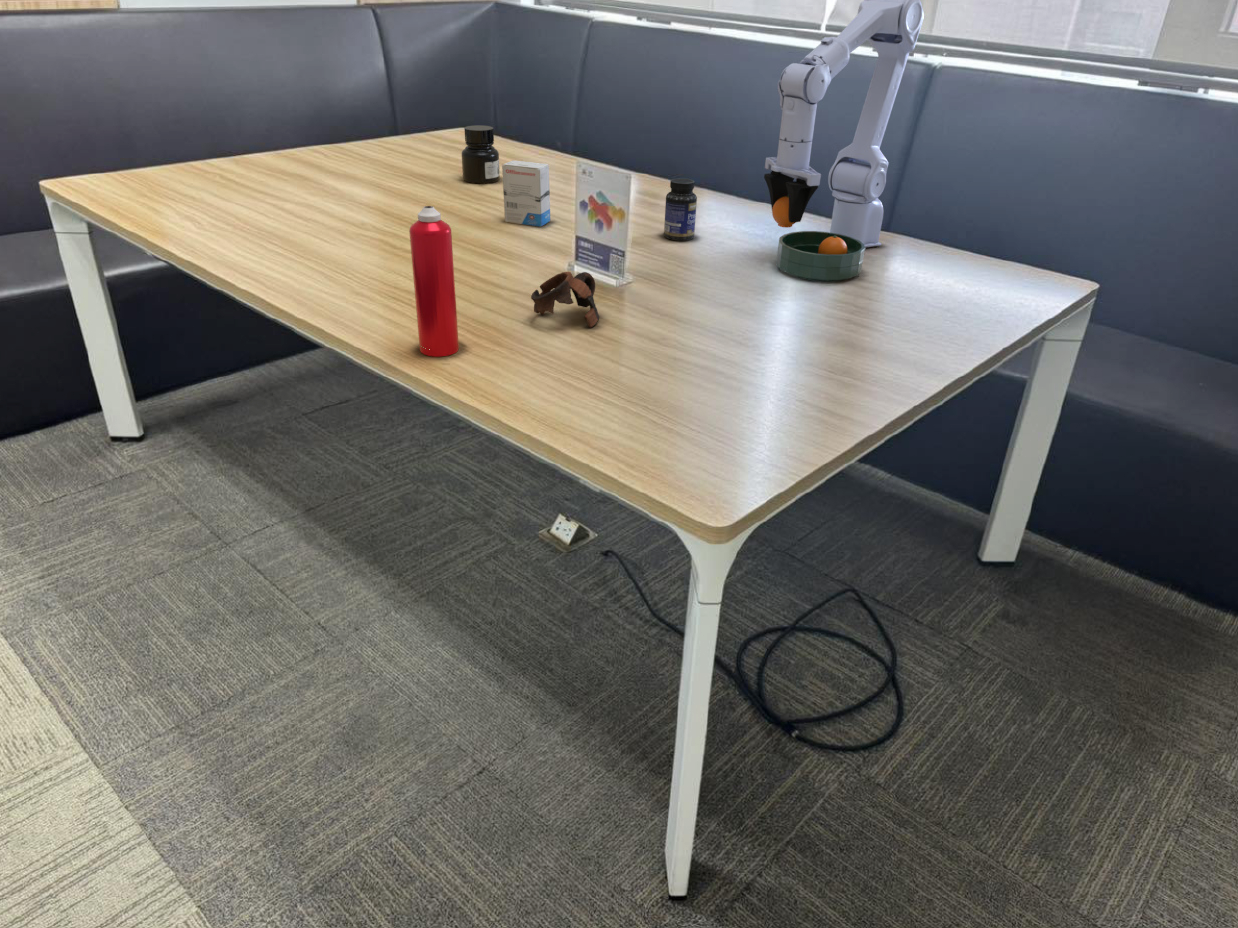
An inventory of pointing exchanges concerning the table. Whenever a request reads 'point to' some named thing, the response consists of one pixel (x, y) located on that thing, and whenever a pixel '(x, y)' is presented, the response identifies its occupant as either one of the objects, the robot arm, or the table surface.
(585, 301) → the brown curved broken pieces
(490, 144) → the ink bottle
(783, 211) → the clementine
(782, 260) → the bowl
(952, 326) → the table surface
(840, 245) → the clementine
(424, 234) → the bottle
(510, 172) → the ink box
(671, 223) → the pill bottle
